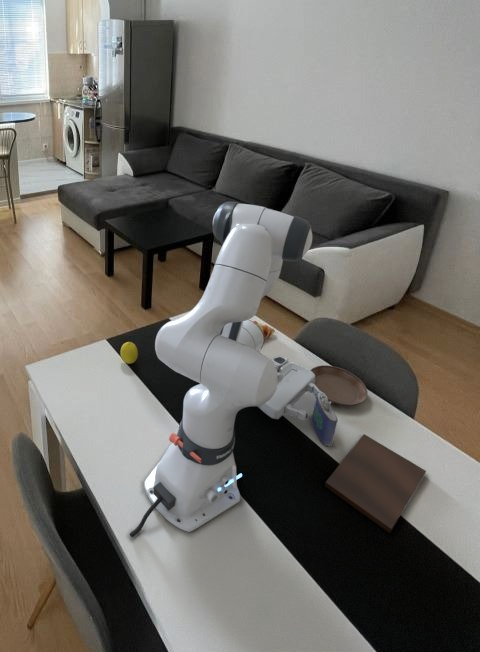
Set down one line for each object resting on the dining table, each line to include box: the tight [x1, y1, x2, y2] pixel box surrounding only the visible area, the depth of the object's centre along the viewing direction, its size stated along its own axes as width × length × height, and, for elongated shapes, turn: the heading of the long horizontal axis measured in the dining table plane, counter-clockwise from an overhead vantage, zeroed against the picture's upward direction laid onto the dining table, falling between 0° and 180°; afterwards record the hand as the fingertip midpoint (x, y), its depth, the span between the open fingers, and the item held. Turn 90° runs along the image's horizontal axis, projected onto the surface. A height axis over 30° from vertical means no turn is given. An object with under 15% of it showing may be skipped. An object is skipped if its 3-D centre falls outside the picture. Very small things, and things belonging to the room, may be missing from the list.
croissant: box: [252, 320, 276, 340], centre depth 145 cm, size 21×10×8 cm, turn 97°
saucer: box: [309, 364, 369, 407], centre depth 122 cm, size 15×15×3 cm
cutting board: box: [324, 433, 427, 534], centre depth 97 cm, size 20×13×2 cm, turn 127°
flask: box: [311, 393, 339, 448], centre depth 108 cm, size 9×3×11 cm, turn 172°
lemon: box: [120, 341, 139, 365], centre depth 137 cm, size 6×6×8 cm
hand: (315, 407), depth 110 cm, fingers open, 8 cm apart
